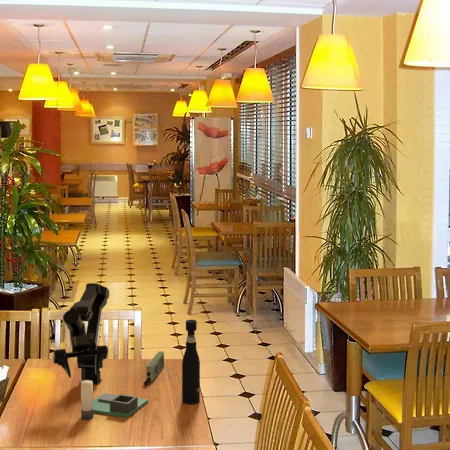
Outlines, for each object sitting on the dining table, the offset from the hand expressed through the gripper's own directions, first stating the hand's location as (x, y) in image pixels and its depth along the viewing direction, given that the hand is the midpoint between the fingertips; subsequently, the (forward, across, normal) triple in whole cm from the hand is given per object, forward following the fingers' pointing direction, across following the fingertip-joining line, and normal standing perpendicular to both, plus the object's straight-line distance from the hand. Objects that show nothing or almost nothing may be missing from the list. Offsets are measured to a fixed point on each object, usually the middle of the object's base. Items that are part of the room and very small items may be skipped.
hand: (83, 376), depth 266 cm
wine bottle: (+11, +38, +7) cm, 40 cm away
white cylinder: (+14, 0, +4) cm, 14 cm away
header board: (+8, +11, +9) cm, 17 cm away
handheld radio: (-11, +32, +29) cm, 45 cm away
